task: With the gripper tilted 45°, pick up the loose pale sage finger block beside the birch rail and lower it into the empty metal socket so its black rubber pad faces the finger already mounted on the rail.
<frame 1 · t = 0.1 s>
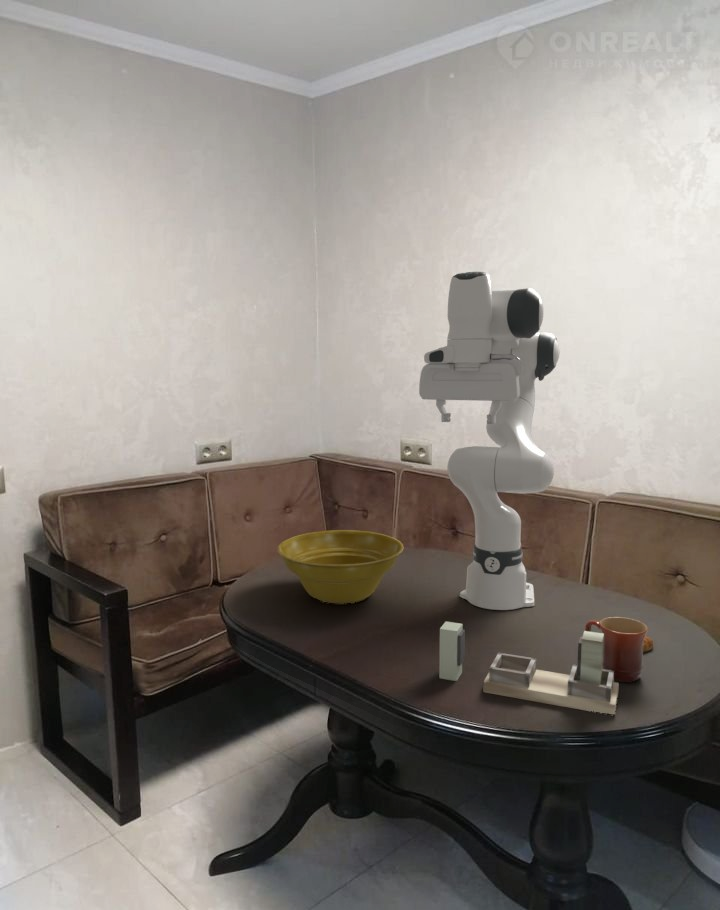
hand: (468, 422, 147), 48 cm above the table, tool pointing down, fingers open, 8 cm apart
pastry: (627, 649, 153), on the table
rail: (550, 692, 133), on the table
mug: (613, 674, 141), on the table
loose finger: (450, 675, 141), on the table
planter bowl: (341, 596, 187), on the table
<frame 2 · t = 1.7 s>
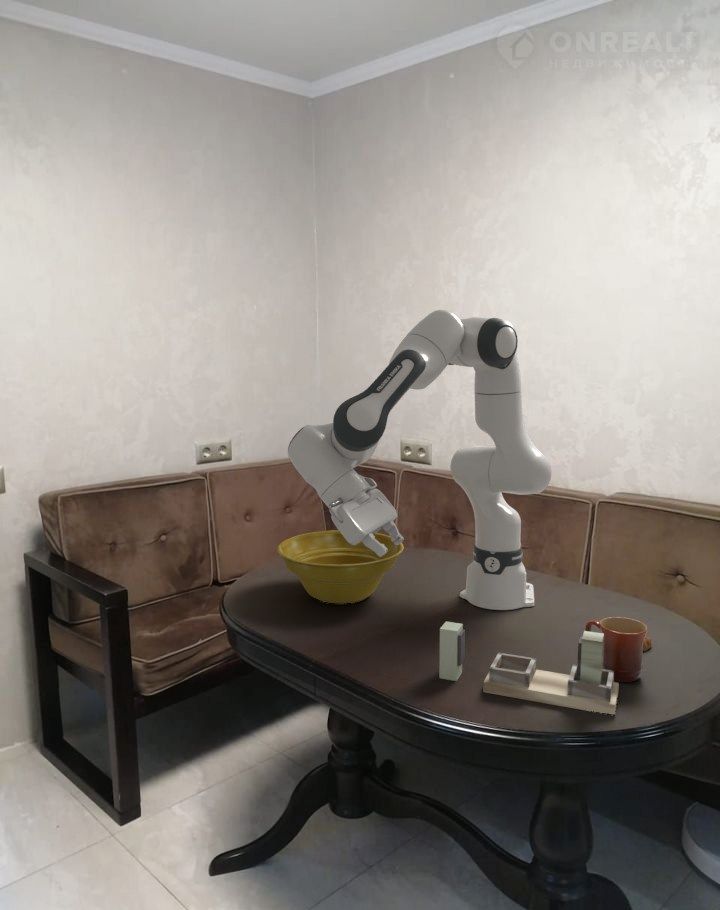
hand: (392, 548, 142), 24 cm above the table, tool tilted 45°, fingers open, 8 cm apart
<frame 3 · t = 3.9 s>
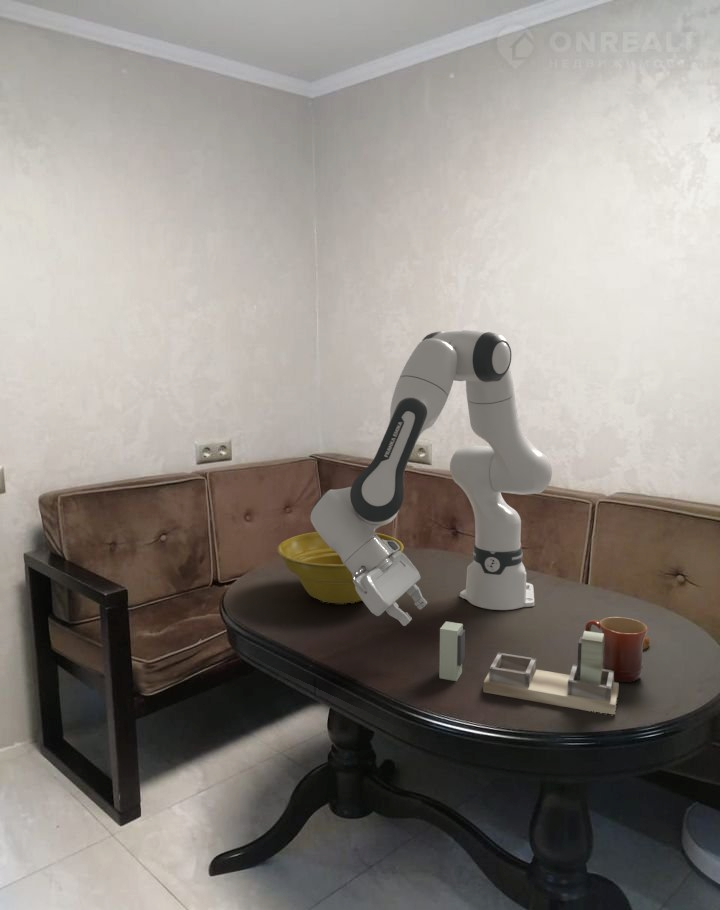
hand: (416, 614, 142), 11 cm above the table, tool tilted 45°, fingers open, 8 cm apart
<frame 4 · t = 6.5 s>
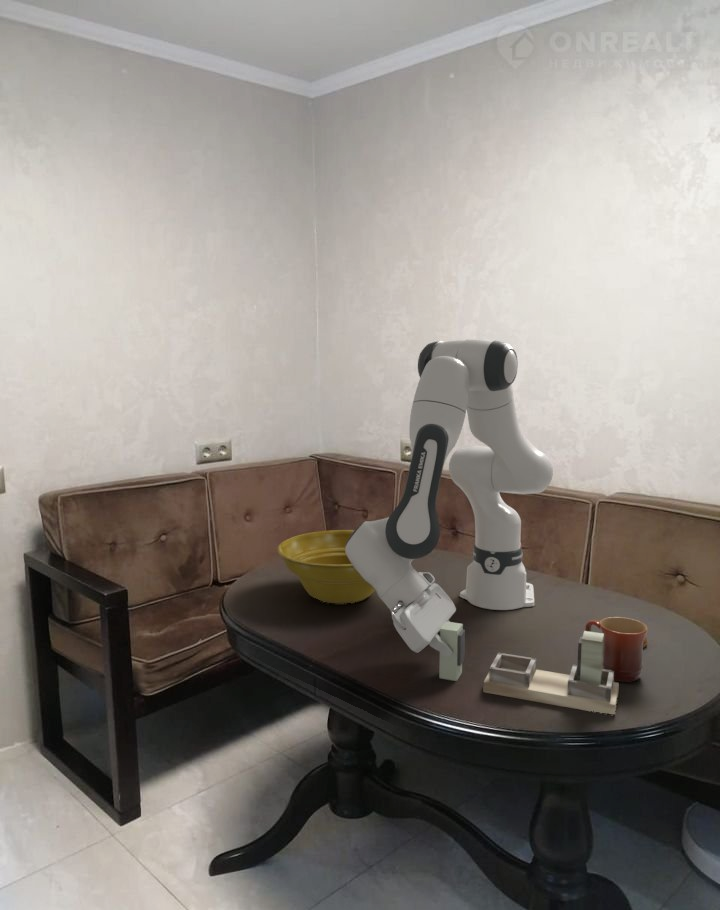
hand: (454, 649, 140), 5 cm above the table, tool tilted 45°, fingers closed on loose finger, 4 cm apart
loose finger: (450, 675, 141), on the table, touching gripper
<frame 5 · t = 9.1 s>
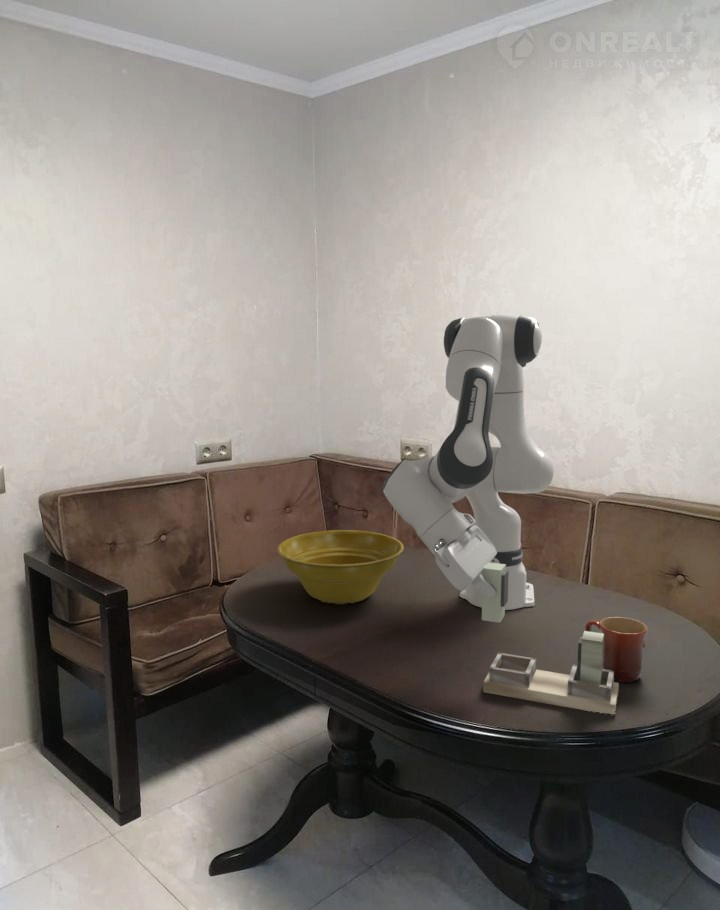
hand: (497, 590, 135), 18 cm above the table, tool tilted 45°, fingers closed on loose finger, 4 cm apart
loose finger: (493, 617, 136), point 13 cm above the table, touching gripper
when the fingers open (8 cm above the table, at t = 12.2 s): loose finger stays where it is, resting on rail.
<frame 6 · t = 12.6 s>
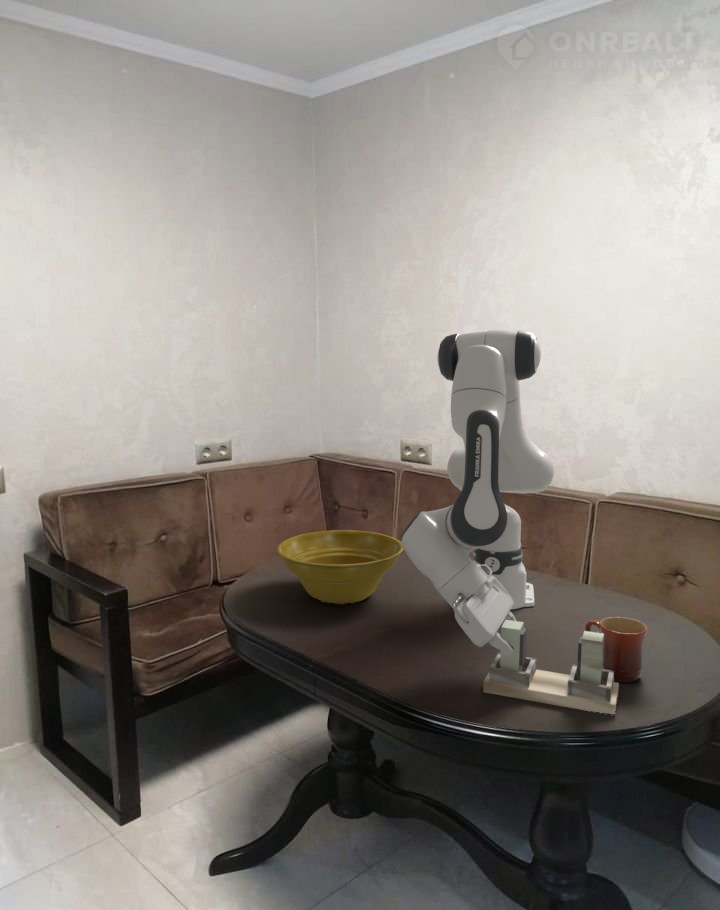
hand: (515, 643, 135), 8 cm above the table, tool tilted 45°, fingers open, 8 cm apart
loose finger: (511, 675, 136), point 2 cm above the table, touching rail
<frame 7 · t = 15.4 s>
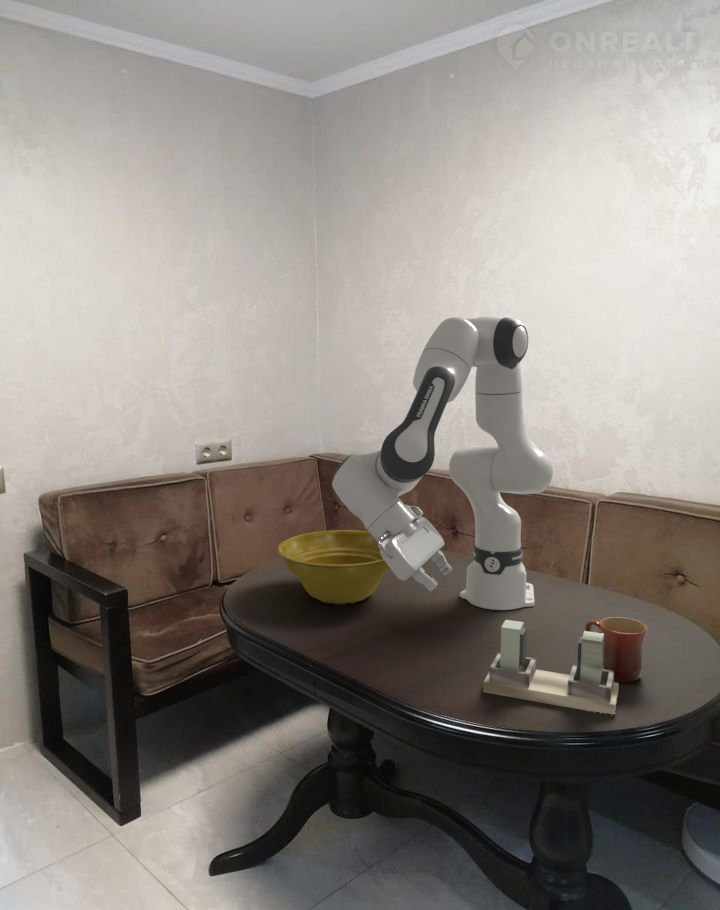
hand: (442, 580, 139), 19 cm above the table, tool tilted 45°, fingers open, 8 cm apart
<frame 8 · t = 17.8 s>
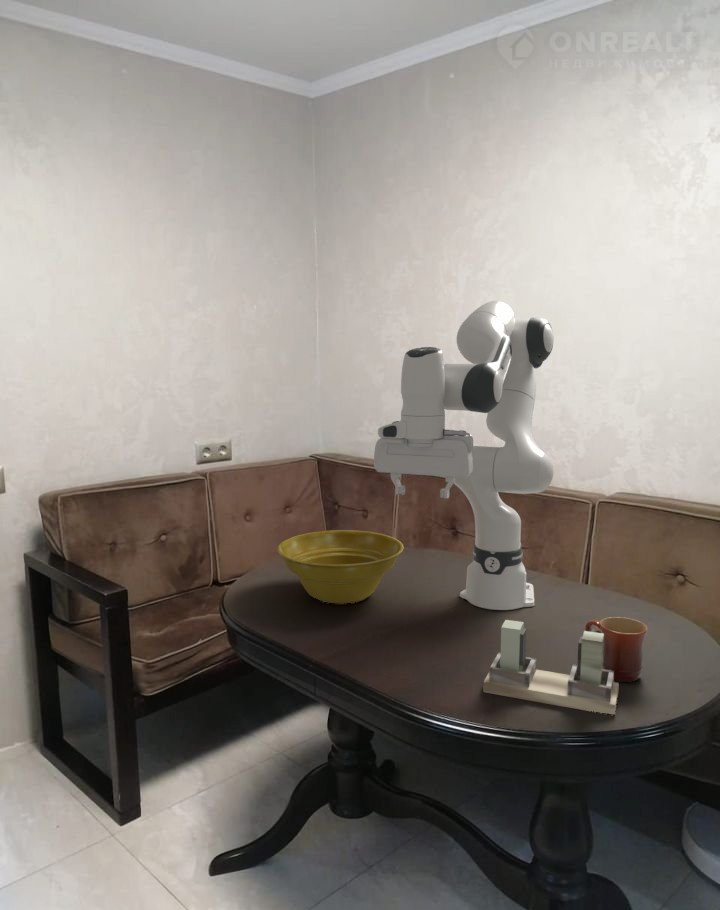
hand: (422, 496, 148), 33 cm above the table, tool pointing down, fingers open, 8 cm apart
at the end: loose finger 0.3 cm from the target spot on the rail, point 2.0 cm above the rail's base; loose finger tilted 0°; the gripper is holding nothing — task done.
